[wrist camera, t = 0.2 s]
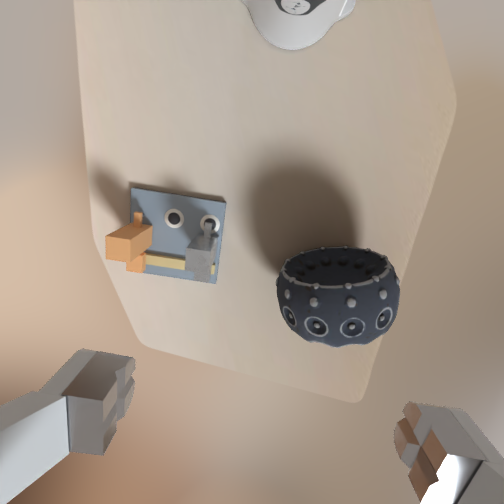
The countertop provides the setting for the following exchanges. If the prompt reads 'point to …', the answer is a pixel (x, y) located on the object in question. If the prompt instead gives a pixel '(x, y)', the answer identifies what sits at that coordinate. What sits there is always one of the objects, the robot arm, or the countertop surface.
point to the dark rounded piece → (338, 295)
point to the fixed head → (202, 254)
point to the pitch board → (176, 229)
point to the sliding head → (130, 244)
